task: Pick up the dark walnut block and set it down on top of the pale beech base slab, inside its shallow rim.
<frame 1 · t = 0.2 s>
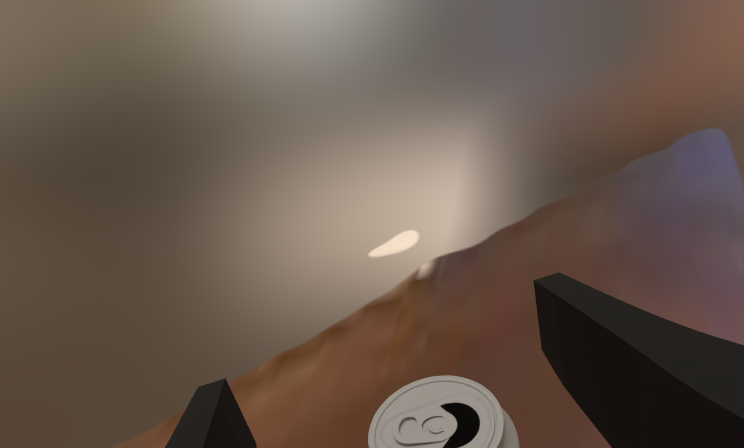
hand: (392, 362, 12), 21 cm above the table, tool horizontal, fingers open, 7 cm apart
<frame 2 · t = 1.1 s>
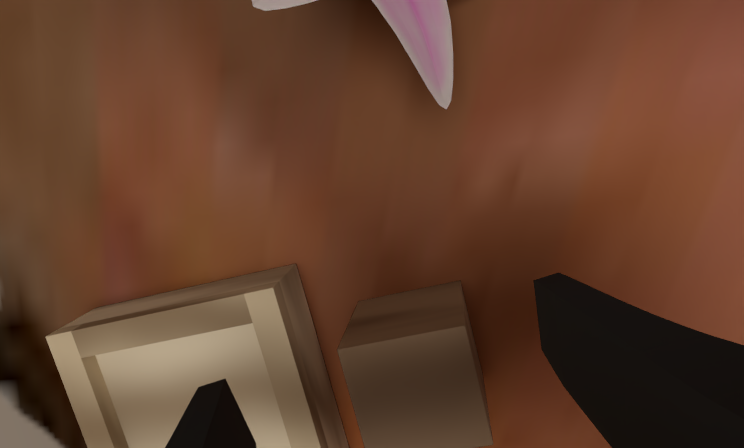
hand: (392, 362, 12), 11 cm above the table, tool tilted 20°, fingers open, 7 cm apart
beech base: (224, 386, 25), on the table
walnut block: (420, 338, 24), on the table
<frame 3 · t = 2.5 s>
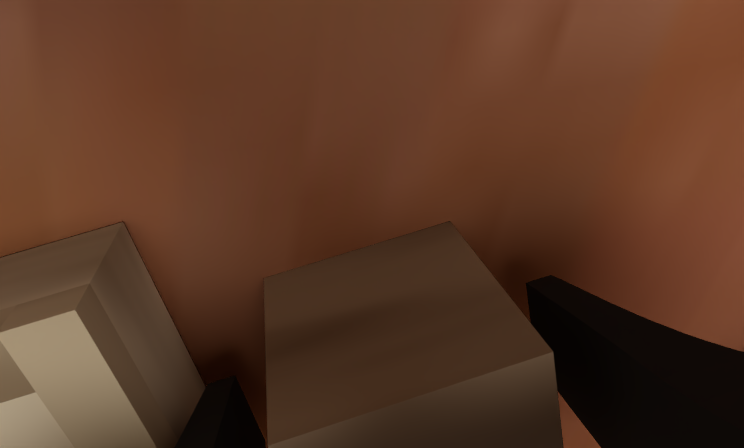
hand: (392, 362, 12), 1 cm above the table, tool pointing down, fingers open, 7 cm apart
walnut block: (379, 324, 14), on the table
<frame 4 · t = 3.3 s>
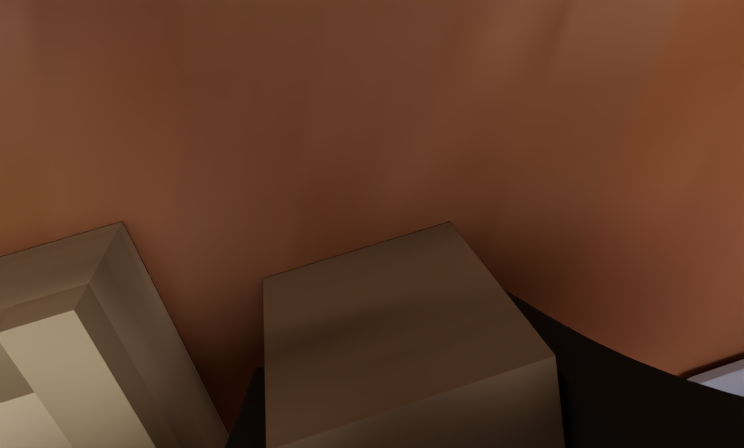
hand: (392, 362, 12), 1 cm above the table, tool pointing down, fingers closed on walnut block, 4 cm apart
walnut block: (379, 326, 13), on the table, touching gripper
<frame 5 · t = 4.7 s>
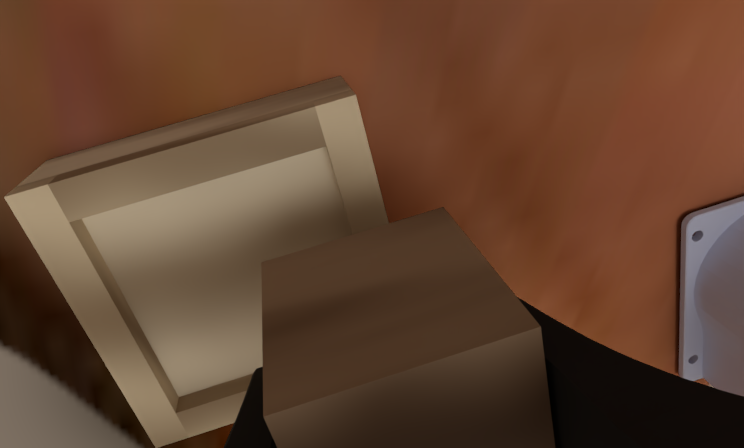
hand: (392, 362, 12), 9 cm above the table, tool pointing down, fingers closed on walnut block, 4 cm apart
beech base: (247, 245, 20), on the table
walnut block: (375, 310, 14), point 7 cm above the table, touching gripper
when the fingers open (5 cm above the table, at t = 6.2 s): walnut block stays where it is, resting on beech base.
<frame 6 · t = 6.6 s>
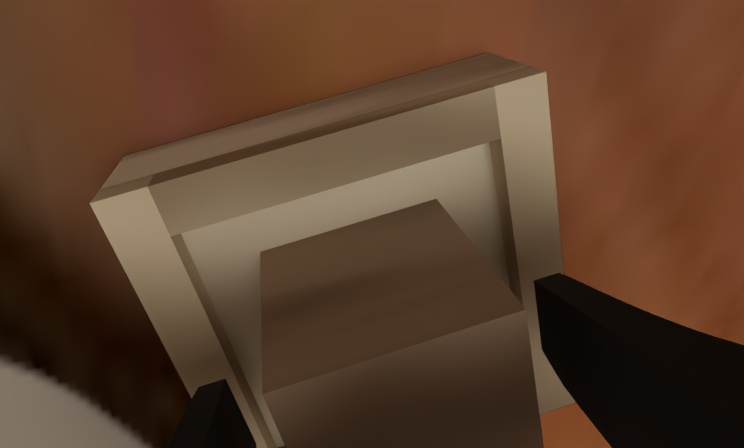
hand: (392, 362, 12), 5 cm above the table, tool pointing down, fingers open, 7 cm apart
beech base: (356, 260, 17), on the table
walnut block: (370, 298, 14), point 2 cm above the table, touching beech base
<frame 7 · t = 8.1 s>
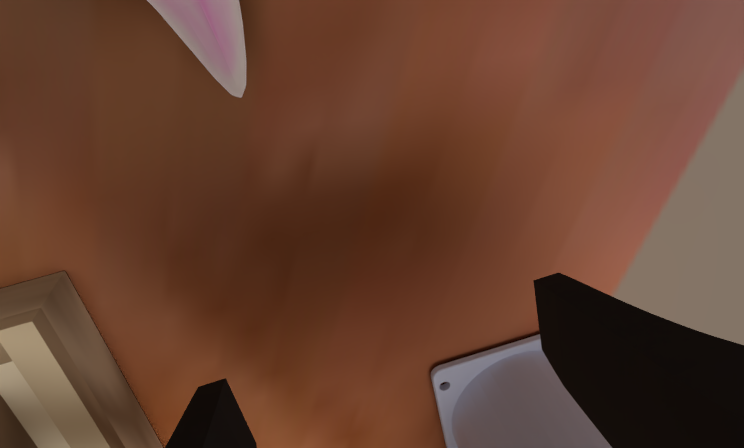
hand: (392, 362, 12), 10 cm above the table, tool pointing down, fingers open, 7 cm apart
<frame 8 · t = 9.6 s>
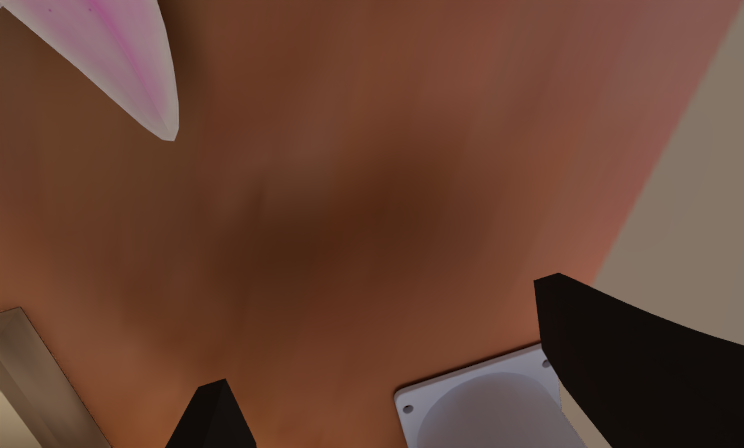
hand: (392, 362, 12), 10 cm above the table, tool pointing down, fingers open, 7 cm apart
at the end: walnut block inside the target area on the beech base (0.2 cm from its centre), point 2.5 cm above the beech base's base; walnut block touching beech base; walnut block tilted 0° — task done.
